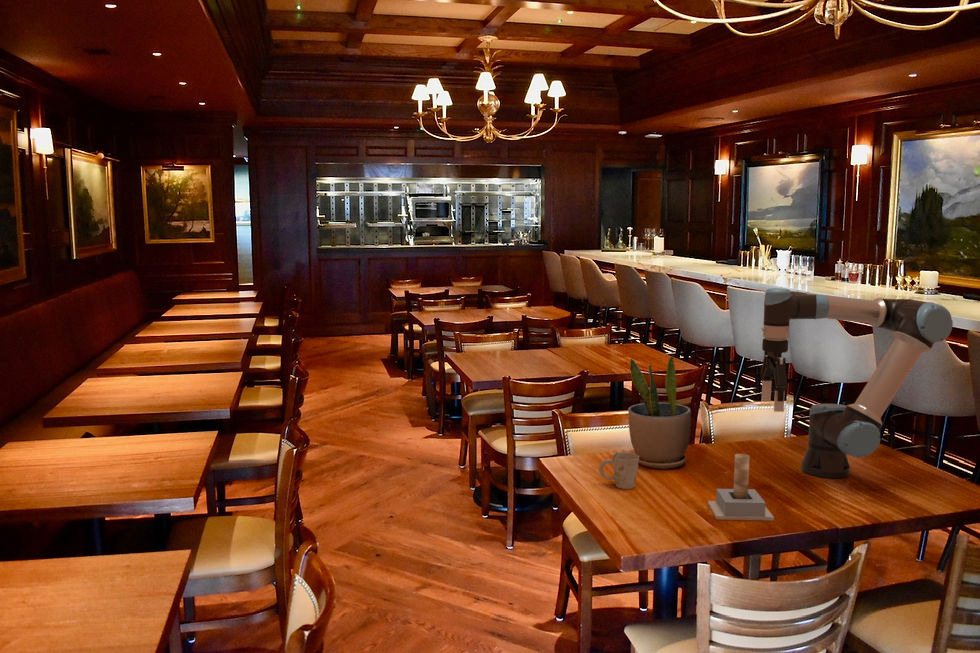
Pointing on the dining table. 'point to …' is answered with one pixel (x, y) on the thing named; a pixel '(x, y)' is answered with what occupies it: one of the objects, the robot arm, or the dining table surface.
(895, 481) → the dining table surface
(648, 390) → the potted plant
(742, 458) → the peg
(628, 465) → the mug
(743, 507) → the socket
